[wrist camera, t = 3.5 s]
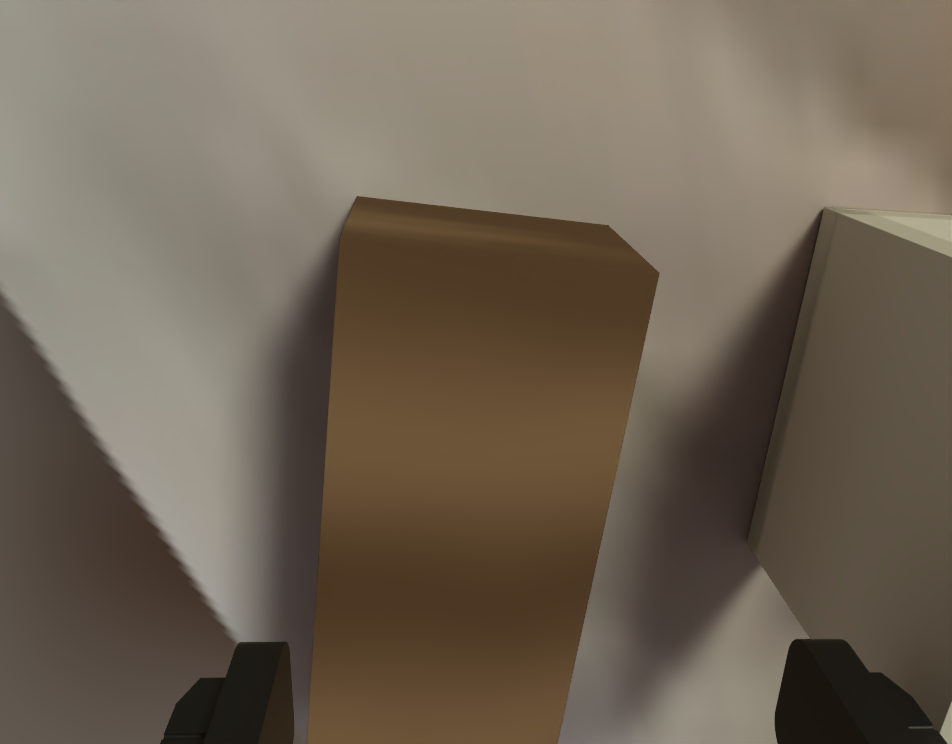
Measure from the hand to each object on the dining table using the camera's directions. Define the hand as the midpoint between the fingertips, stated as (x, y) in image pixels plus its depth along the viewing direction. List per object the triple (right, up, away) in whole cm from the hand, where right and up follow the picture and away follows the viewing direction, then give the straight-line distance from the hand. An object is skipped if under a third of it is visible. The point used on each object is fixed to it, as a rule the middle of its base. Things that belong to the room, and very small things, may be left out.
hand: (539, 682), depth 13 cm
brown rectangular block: (-2, +2, +6) cm, 6 cm away
